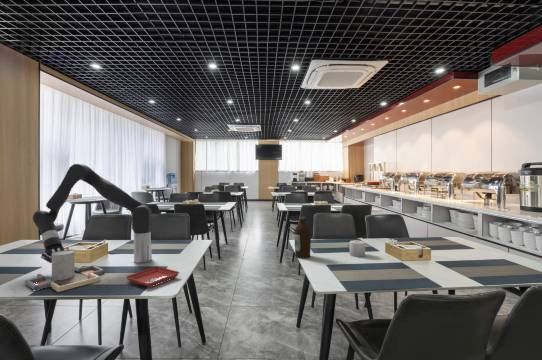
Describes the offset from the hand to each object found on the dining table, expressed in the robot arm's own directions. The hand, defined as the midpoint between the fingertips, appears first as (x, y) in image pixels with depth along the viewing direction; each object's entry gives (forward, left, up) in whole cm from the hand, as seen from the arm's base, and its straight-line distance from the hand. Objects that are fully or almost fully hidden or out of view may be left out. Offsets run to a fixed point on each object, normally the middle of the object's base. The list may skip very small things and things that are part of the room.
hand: (59, 267), depth 151 cm
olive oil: (-133, -15, -4) cm, 134 cm away
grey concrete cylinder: (-4, +4, -4) cm, 7 cm away
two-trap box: (-8, +8, -4) cm, 12 cm away
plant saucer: (-50, +15, -4) cm, 52 cm away
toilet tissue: (-168, -14, -4) cm, 169 cm away
